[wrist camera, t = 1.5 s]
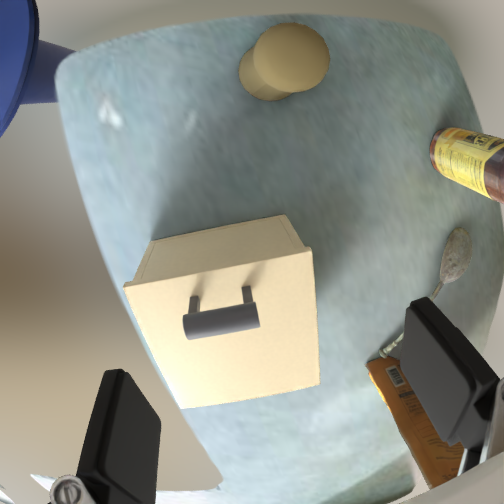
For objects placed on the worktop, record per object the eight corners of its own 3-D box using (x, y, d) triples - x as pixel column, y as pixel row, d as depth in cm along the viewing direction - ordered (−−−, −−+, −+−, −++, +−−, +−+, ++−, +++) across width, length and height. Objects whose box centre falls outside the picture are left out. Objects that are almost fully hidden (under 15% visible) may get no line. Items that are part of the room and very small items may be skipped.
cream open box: (149, 241, 33) (128, 290, 24) (285, 213, 33) (310, 254, 24) (185, 343, 39) (181, 402, 31) (298, 322, 40) (318, 378, 31)
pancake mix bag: (377, 340, 43) (465, 502, 18) (440, 364, 49) (512, 478, 23) (349, 371, 45) (416, 531, 20) (416, 389, 51) (478, 503, 26)
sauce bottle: (465, 131, 31) (595, 174, 13) (458, 178, 33) (580, 243, 15) (427, 120, 30) (571, 158, 12) (420, 171, 33) (553, 240, 15)
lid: (124, 282, 24) (108, 320, 19) (309, 245, 24) (330, 278, 20) (181, 403, 30) (179, 441, 26) (318, 379, 31) (331, 416, 26)
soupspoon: (473, 238, 38) (449, 217, 37) (487, 246, 35) (464, 224, 33) (393, 356, 45) (364, 346, 43) (401, 369, 42) (372, 360, 40)
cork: (277, 32, 25) (307, -3, 15) (312, 80, 27) (359, 70, 18) (225, 64, 26) (230, 40, 16) (262, 112, 29) (286, 115, 19)
